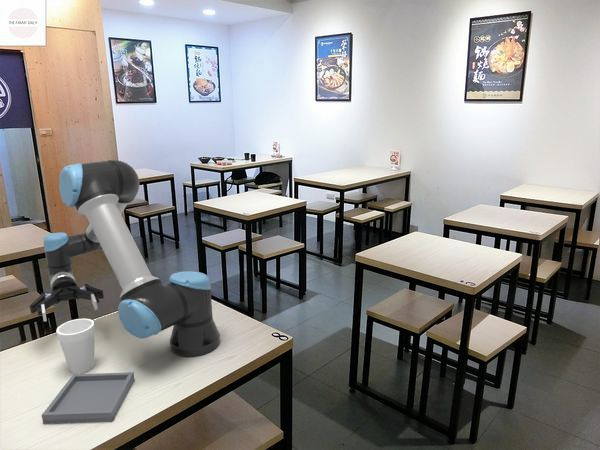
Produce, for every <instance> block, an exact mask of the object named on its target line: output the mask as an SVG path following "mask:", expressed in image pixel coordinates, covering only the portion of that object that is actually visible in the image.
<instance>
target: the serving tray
mask: <svg viewBox="0 0 600 450" xmlns="http://www.w3.org/2000/svg"><path fill="white" fill-rule="evenodd" d="M135 381H136V380H135V372H133V371H131V372H130V371H129V372H101V373H82V374H73V373H72V375H71V377H70V378H69V379H68V381H67V382H66V383H65V385H64V386H63V387H62V388H61V389H60V390H59V391H58V393H57V395H56V396H55V397H54V398H53V399H52V401H51V402H50V404H49V405H48V406H47V407H46V409H45V410H44V412H42V414H41V418H42V424H43V425H54V424H55V425H57V424H78V423H79V424H81V423H82V424H83V423H85V424H86V423H104V422H106V423H107V422H111V423H112V422H113V421H114V420H115V418H116V416H117V414H118V412H119V410H120V409H121V406H122V405H123V403H124V401H125V399H126V397H127V395H128V394H129V392H130V390H131V388H132V386H133V384H134V383H135Z"/></svg>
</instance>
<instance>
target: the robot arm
mask: <svg viewBox="0 0 600 450" xmlns="http://www.w3.org/2000/svg"><path fill="white" fill-rule="evenodd" d="M58 187H59V188H58V190H59V194H60V199H61V200H62V202H63V205H65V206H66V207H68V208H74V207H75V210H76V211H77V213H78V215H80V216H83V217H86V219H87V220H88V221H87V222H88V226H87V228H86V229H85V231H84V232H83V233H79V234H78V233H77V234H73V235H69V236H68V234H67V233H66V232H53V233H52V232H51V233H48V234H46V235H45V236H44V237H43V250H44V254H45V260H46V264H47V275H48V280H49V282H50V288H51V292H50V293H46V292H45V291H44V292H43V291H42V292H41V293H40V296H38V298H36V299H35V300H34V301H33V302H31V304H30V305H29V310H30V314H35V313H36V312H37V316H39V317H40V316H42V319H43V322H47V321H48V320H47V314H46V311H47V310H48V309H49V308H51V307H52V306H53V305H55V304H56V305H57V304H59V303H61V302H66V301H69V300H89V301H91V303H92V306H93V309H94V310H95V311H97V310H98V309H99V308H98V304H99V303H100V299H102V300H103V299H105V297H104V290H103V289H100V288H98V287H97V288H96V287H94V286H91V285H89V284H88V283H86V284H85V283H84V285H83V286H82V287H80V286H78V284H77V280H76V278H75V275H74V271H73V270H74V269H73V262H72V258H76V257H79V256H82V255H87V254H91V253H93V252H97V251H99V252H100V251H103V253H104V255H105V257H106V260H107V261H108V263H109V265H110V267H111V270H112V271H113V273H114V276H115V278H116V280H117V281H118V283H119V286H120V288H121V292H120V295H119V299H120V302H119V304H118V307H117V313H118V314H119V315H118V318H119V320H120V323H121V325H122V326H123V327H124V329H125V330H126V331H127V333H129V334H130V335H131V336H133V337H135V338H137V339H147V338H149V337H152V336H156V335H158V334H159V333H160V332H163V331H164V330H167V329H168V328H171V327H172V330H171V335H170V339H169V346H170V351H171V352H172V353H173V354H175V355H177V356H180V357H188V358H191V357H198V356H199V357H200V356H202V355H206V354H208V353H211V352H213V351H214V350H216V349H217V348H218V347H219V345H220V342H221V338H220V336H221V335H220V332H219V330H218V327H217V325H216V323H215V320H214V318H213V303H212V302H213V301H212V286H211V282H210V281H211V280H210V278H209V276H208V275H207V274H205V273H203V272H199V271H189V270H188V271H178V272H174V273H172V274H171V275H170V276H169V279H168V281H169V282H168V283H167V284H165V285H164V284H163V282H162V280H161V279H160V278H159V277H157V276H153V275H152V273H151V271H150V269H149V267H148V265H147V263H146V261H145V259H144V257H143V255H142V253H141V251H140V250H139V248H138V245H137V243H136V241H135V239H134V237H133V236H132V234H131V231H130V230H129V228H128V226H127V224H126V222H125V220H124V217H123V215H122V214H123V212H124V210H125V209H126V207H127V205H128V204H130V203H132V202H133V201H134V200H135V198H136V197H137V196H138V194H139V190H140V178H139V175H138V174H137V172H136V170H135V168H133V167H132V166H131V165H130V164H128V163H127V162H124V161H121V160H118V159H109V160H102V161H95V162H94V161H92V162H87V163H86V162H85V163H80V162H78V163H75V164H70V165H66V166H64V167H63V169H62V170H60V174H59V177H58Z"/></svg>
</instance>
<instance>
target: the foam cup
mask: <svg viewBox="0 0 600 450" xmlns="http://www.w3.org/2000/svg"><path fill="white" fill-rule="evenodd" d="M55 331H56V338H57V340H58V341H59V344H60V347H61V350H62V353H63V356H64V358H65V361H66V365H67V368H68V369H69V372H70V373H71V374H72V375H73V374H86V373H88V372H89V371H91V370H92V369H93V368H95V334H96V326H95V321H94V320H93V319H92V318H91V319H90V318H76V319H72V320H69V321H66V322H64V323H62V324H60V325H58V326H57V328H56V330H55Z"/></svg>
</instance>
